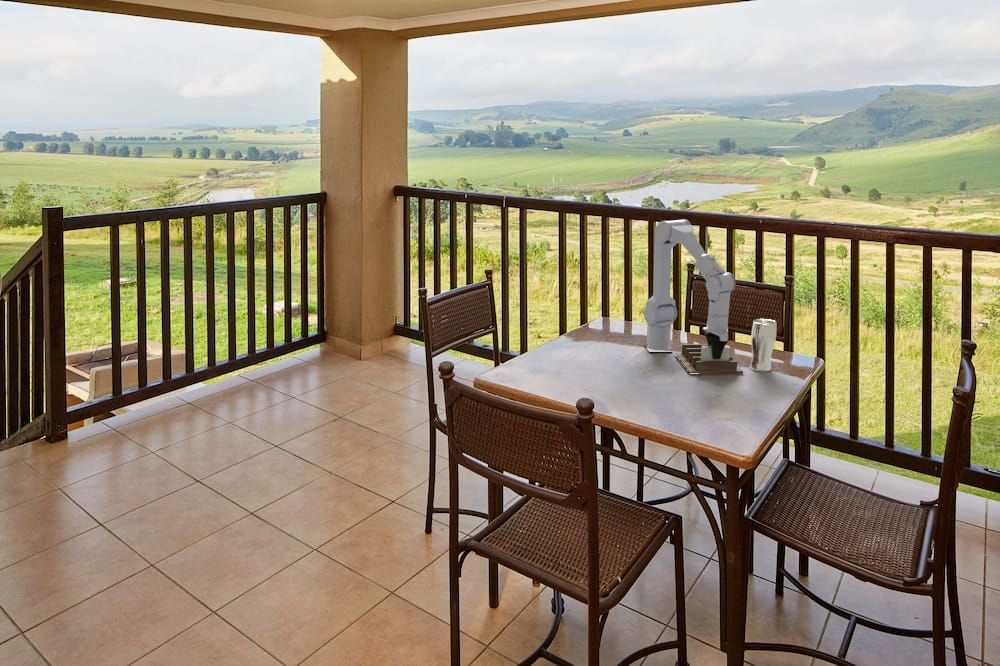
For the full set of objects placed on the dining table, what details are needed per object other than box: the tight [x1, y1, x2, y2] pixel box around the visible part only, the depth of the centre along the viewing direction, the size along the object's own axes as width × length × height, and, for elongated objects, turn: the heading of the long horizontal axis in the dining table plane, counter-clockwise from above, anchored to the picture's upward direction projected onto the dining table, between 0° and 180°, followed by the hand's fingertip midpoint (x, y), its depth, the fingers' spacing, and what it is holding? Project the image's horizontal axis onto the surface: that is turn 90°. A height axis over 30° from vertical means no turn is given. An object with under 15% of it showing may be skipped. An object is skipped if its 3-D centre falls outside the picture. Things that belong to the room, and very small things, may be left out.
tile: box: [700, 345, 731, 361], centre depth 196 cm, size 2×8×7 cm, turn 89°
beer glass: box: [749, 318, 778, 373], centre depth 197 cm, size 7×7×15 cm
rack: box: [675, 343, 744, 375], centre depth 203 cm, size 18×16×4 cm
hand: (714, 357), depth 196 cm, fingers open, 2 cm apart
